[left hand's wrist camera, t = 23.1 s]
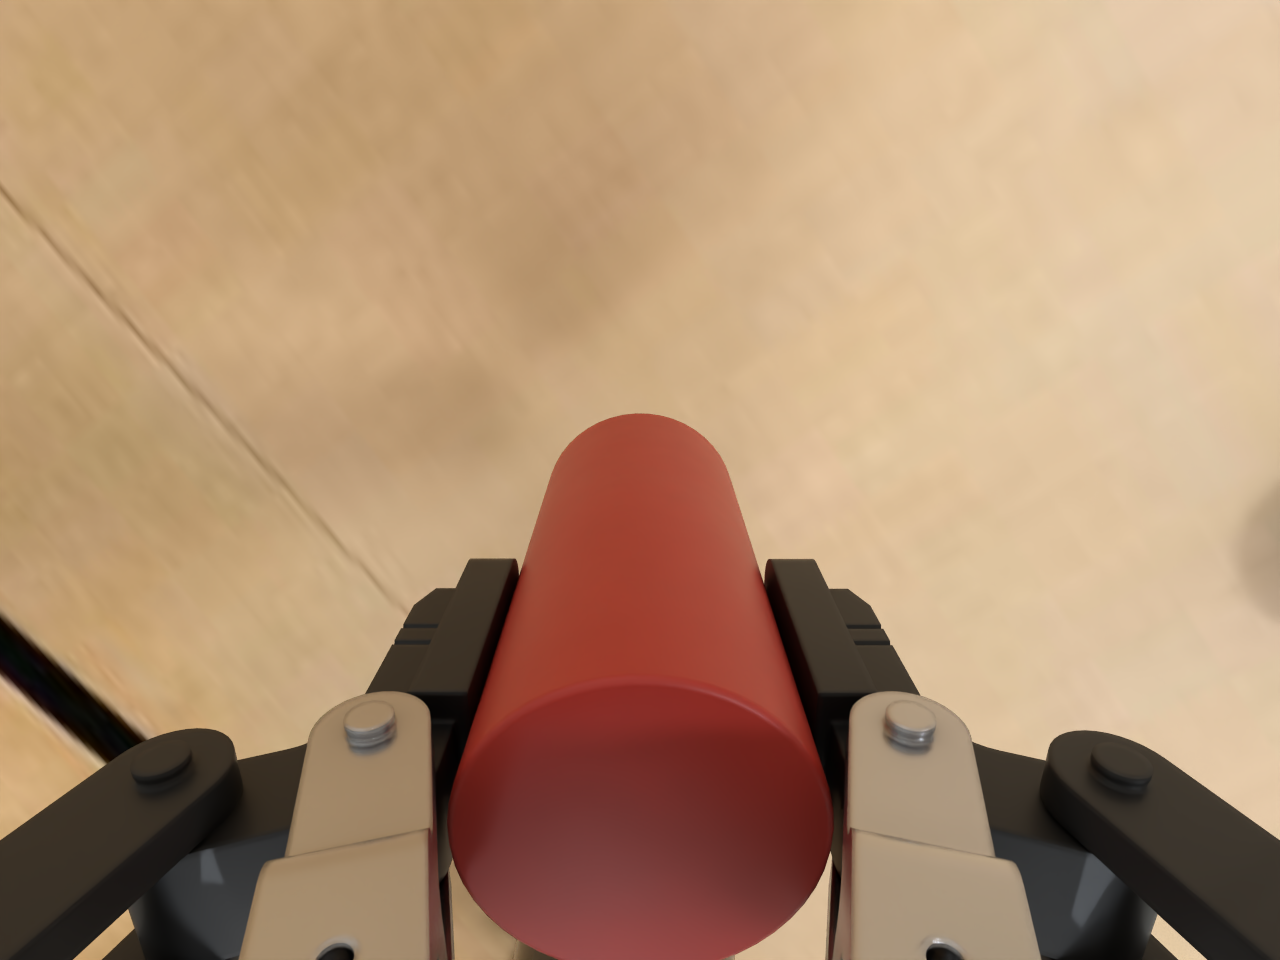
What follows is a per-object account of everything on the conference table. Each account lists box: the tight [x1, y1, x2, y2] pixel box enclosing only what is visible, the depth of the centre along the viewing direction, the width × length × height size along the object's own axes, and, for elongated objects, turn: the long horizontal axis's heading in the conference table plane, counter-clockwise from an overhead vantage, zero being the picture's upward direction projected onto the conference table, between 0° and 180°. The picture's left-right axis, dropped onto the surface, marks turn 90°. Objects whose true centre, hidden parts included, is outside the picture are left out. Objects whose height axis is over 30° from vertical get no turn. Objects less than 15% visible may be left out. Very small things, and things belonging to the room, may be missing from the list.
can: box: [447, 414, 834, 960], centre depth 12 cm, size 4×4×9 cm
